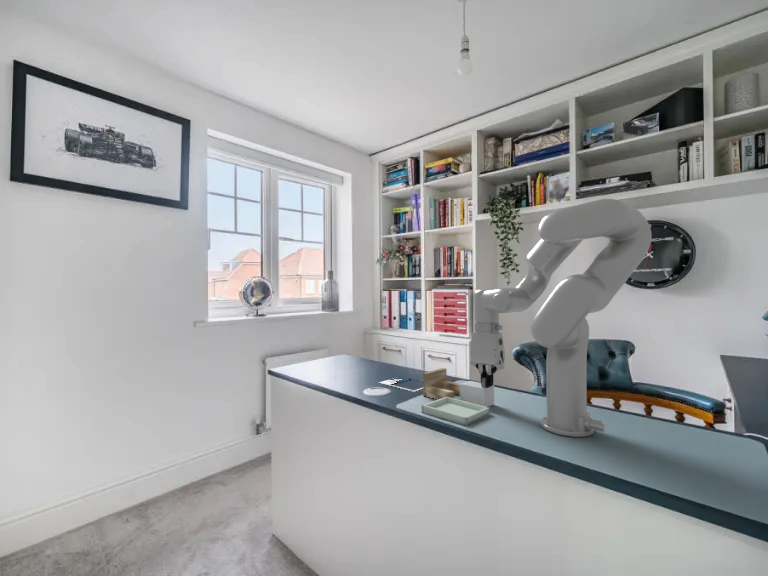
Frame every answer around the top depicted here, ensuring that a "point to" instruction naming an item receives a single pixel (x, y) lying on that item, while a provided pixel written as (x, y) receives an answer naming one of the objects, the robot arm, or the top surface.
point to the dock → (439, 385)
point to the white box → (477, 393)
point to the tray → (456, 410)
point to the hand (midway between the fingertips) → (487, 386)
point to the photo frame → (389, 382)
